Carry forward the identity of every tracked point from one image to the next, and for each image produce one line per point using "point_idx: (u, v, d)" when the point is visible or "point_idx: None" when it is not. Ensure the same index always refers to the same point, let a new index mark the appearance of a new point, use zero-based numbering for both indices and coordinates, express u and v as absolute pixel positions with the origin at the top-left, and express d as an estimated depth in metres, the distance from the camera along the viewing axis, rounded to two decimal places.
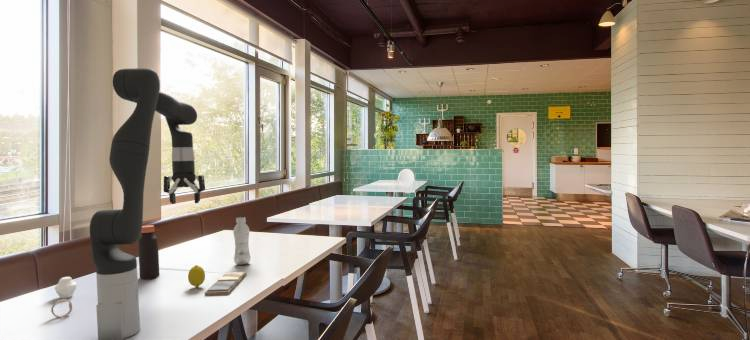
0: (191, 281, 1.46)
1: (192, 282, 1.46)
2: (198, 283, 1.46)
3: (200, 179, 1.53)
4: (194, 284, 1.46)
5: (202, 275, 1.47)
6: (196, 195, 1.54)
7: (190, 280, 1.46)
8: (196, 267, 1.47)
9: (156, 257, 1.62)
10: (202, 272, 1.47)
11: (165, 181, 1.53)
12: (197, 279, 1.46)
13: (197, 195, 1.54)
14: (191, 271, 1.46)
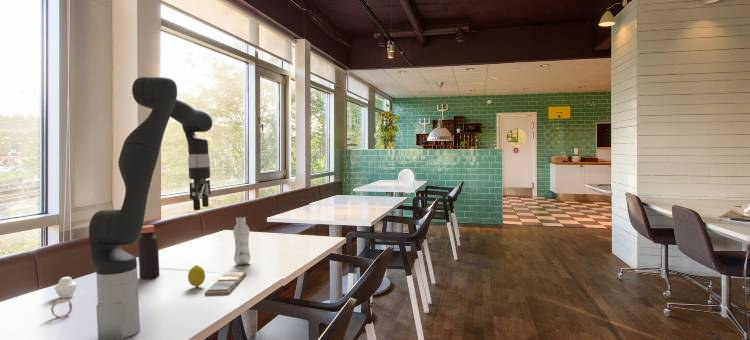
0: (191, 281, 1.46)
1: (192, 282, 1.46)
2: (198, 283, 1.46)
3: (209, 183, 1.65)
4: (194, 284, 1.46)
5: (202, 275, 1.47)
6: None
7: (190, 280, 1.46)
8: (196, 267, 1.47)
9: (156, 257, 1.62)
10: (202, 272, 1.47)
11: (197, 188, 1.52)
12: (197, 279, 1.46)
13: (207, 199, 1.64)
14: (191, 271, 1.46)
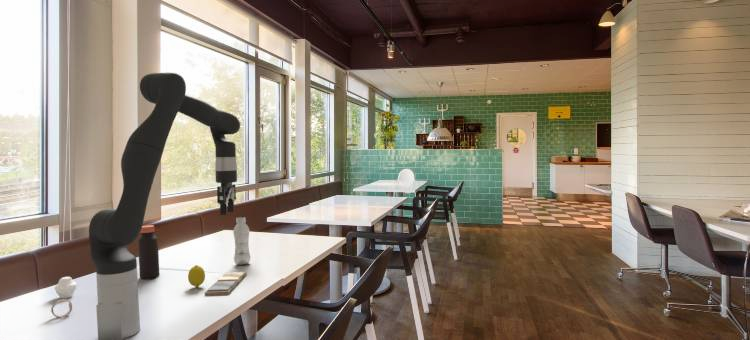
0: (191, 281, 1.46)
1: (192, 282, 1.46)
2: (198, 283, 1.46)
3: None
4: (194, 284, 1.46)
5: (202, 275, 1.47)
6: None
7: (190, 280, 1.46)
8: (196, 267, 1.47)
9: (156, 257, 1.62)
10: (202, 272, 1.47)
11: (224, 191, 1.48)
12: (197, 279, 1.46)
13: None
14: (191, 271, 1.46)
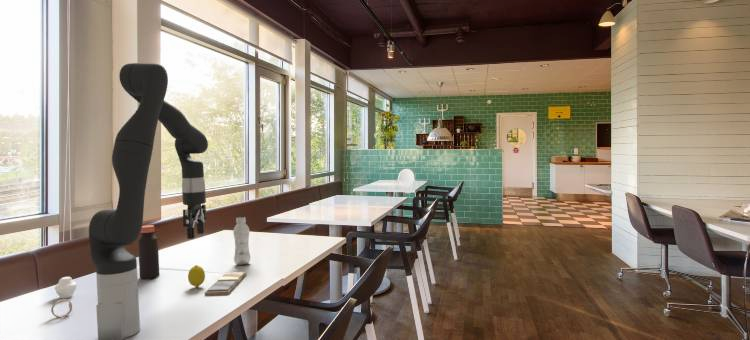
0: (191, 281, 1.46)
1: (192, 282, 1.46)
2: (198, 283, 1.46)
3: (205, 208, 1.53)
4: (194, 284, 1.46)
5: (202, 275, 1.47)
6: None
7: (190, 280, 1.46)
8: (196, 267, 1.47)
9: (156, 257, 1.62)
10: (202, 272, 1.47)
11: (190, 215, 1.41)
12: (197, 279, 1.46)
13: None
14: (191, 271, 1.46)
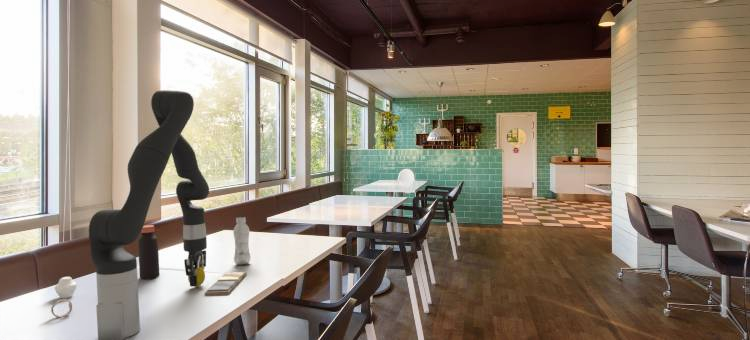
0: None
1: None
2: (198, 283, 1.46)
3: (205, 254, 1.54)
4: None
5: (202, 275, 1.47)
6: None
7: None
8: None
9: (156, 257, 1.62)
10: (202, 272, 1.47)
11: (192, 264, 1.42)
12: (197, 279, 1.46)
13: None
14: None
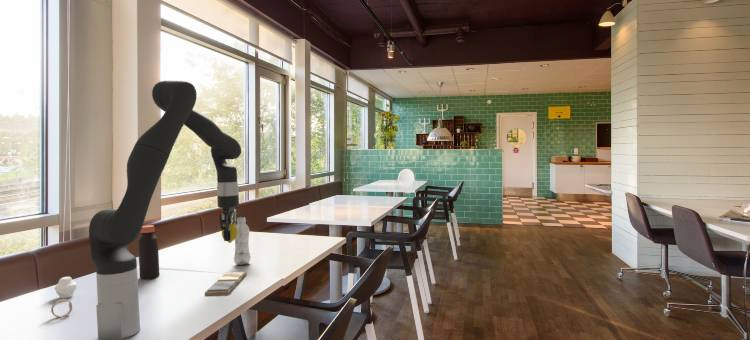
0: None
1: None
2: (231, 238, 1.54)
3: None
4: None
5: (235, 231, 1.54)
6: None
7: None
8: None
9: (156, 257, 1.62)
10: (235, 228, 1.55)
11: (227, 219, 1.49)
12: (230, 234, 1.53)
13: None
14: None
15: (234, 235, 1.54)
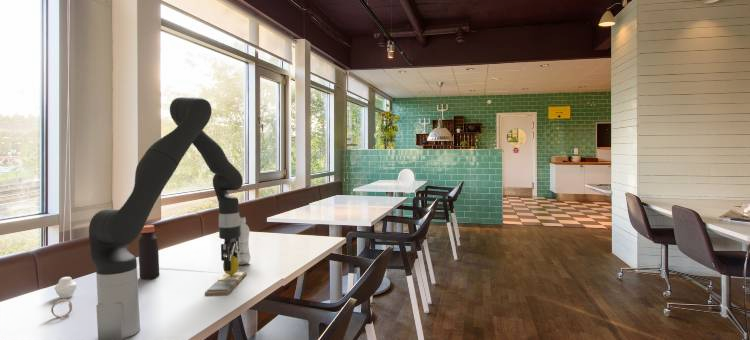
0: None
1: (227, 271, 1.53)
2: (233, 272, 1.54)
3: (238, 240, 1.62)
4: (229, 273, 1.54)
5: (236, 264, 1.55)
6: None
7: None
8: (231, 257, 1.55)
9: (156, 257, 1.62)
10: (236, 261, 1.55)
11: (228, 249, 1.49)
12: (232, 268, 1.53)
13: None
14: None
15: (235, 268, 1.54)
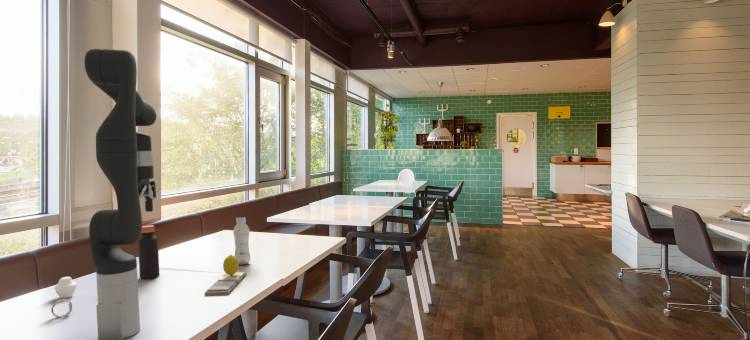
0: (226, 270, 1.53)
1: (227, 271, 1.53)
2: (233, 272, 1.54)
3: (154, 185, 1.46)
4: (229, 273, 1.54)
5: (236, 264, 1.55)
6: None
7: (225, 269, 1.53)
8: (231, 256, 1.55)
9: (156, 257, 1.62)
10: (236, 261, 1.55)
11: None
12: (232, 268, 1.53)
13: None
14: (226, 260, 1.54)
15: (236, 268, 1.54)
